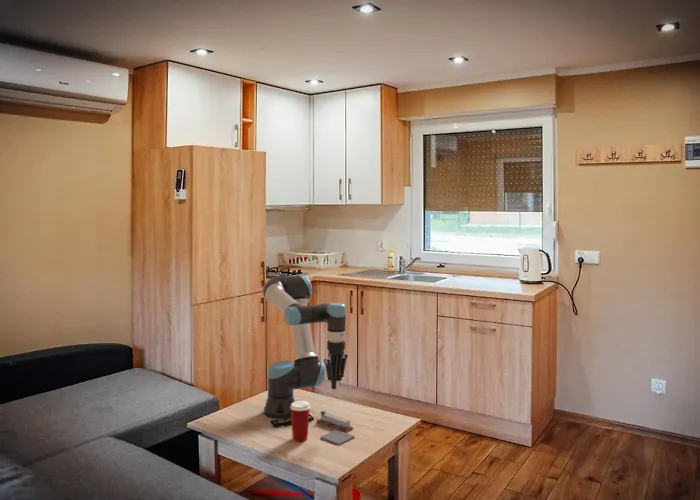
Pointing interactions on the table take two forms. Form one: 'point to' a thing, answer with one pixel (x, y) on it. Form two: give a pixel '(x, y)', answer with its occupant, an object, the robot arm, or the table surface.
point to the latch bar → (335, 419)
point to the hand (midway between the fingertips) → (335, 395)
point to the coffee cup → (300, 420)
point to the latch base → (335, 426)
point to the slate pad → (337, 437)
